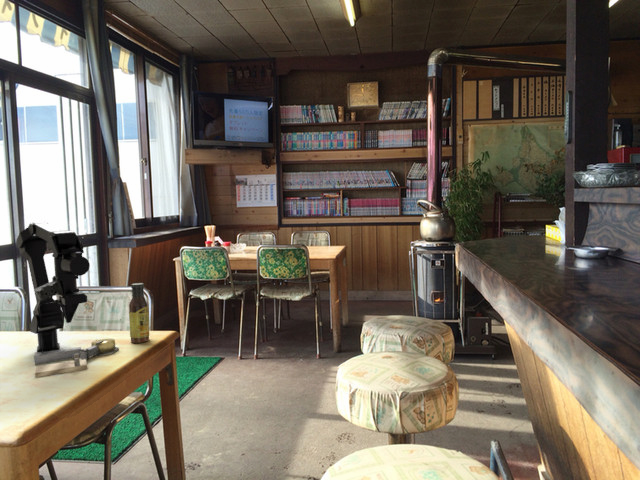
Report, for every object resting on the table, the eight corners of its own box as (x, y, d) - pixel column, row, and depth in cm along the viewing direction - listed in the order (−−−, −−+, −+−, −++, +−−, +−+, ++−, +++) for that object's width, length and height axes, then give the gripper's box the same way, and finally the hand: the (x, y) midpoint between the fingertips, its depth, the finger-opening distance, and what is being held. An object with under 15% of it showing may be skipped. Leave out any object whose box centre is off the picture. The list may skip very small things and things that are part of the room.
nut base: (87, 350, 162) (87, 349, 162) (117, 345, 166) (117, 345, 166) (89, 357, 154) (89, 356, 154) (120, 352, 158) (120, 351, 158)
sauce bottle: (143, 344, 167) (139, 285, 165) (126, 343, 168) (123, 285, 167) (153, 338, 173) (150, 282, 172) (137, 338, 175) (134, 282, 173)
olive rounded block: (100, 346, 164) (100, 337, 164) (119, 346, 163) (119, 337, 162) (73, 359, 151) (72, 349, 151) (93, 360, 149) (92, 350, 149)
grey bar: (34, 364, 149) (34, 356, 148) (35, 361, 152) (34, 353, 152) (81, 357, 155) (81, 349, 154) (81, 354, 158) (80, 346, 158)
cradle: (35, 377, 137) (34, 366, 137) (36, 370, 143) (35, 359, 143) (87, 368, 143) (86, 358, 143) (86, 362, 149) (85, 352, 149)
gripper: (28, 272, 153) (31, 321, 154) (44, 279, 139) (48, 333, 141) (67, 268, 160) (69, 315, 162) (86, 274, 147) (89, 326, 148)
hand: (68, 322), depth 153 cm, fingers closed
